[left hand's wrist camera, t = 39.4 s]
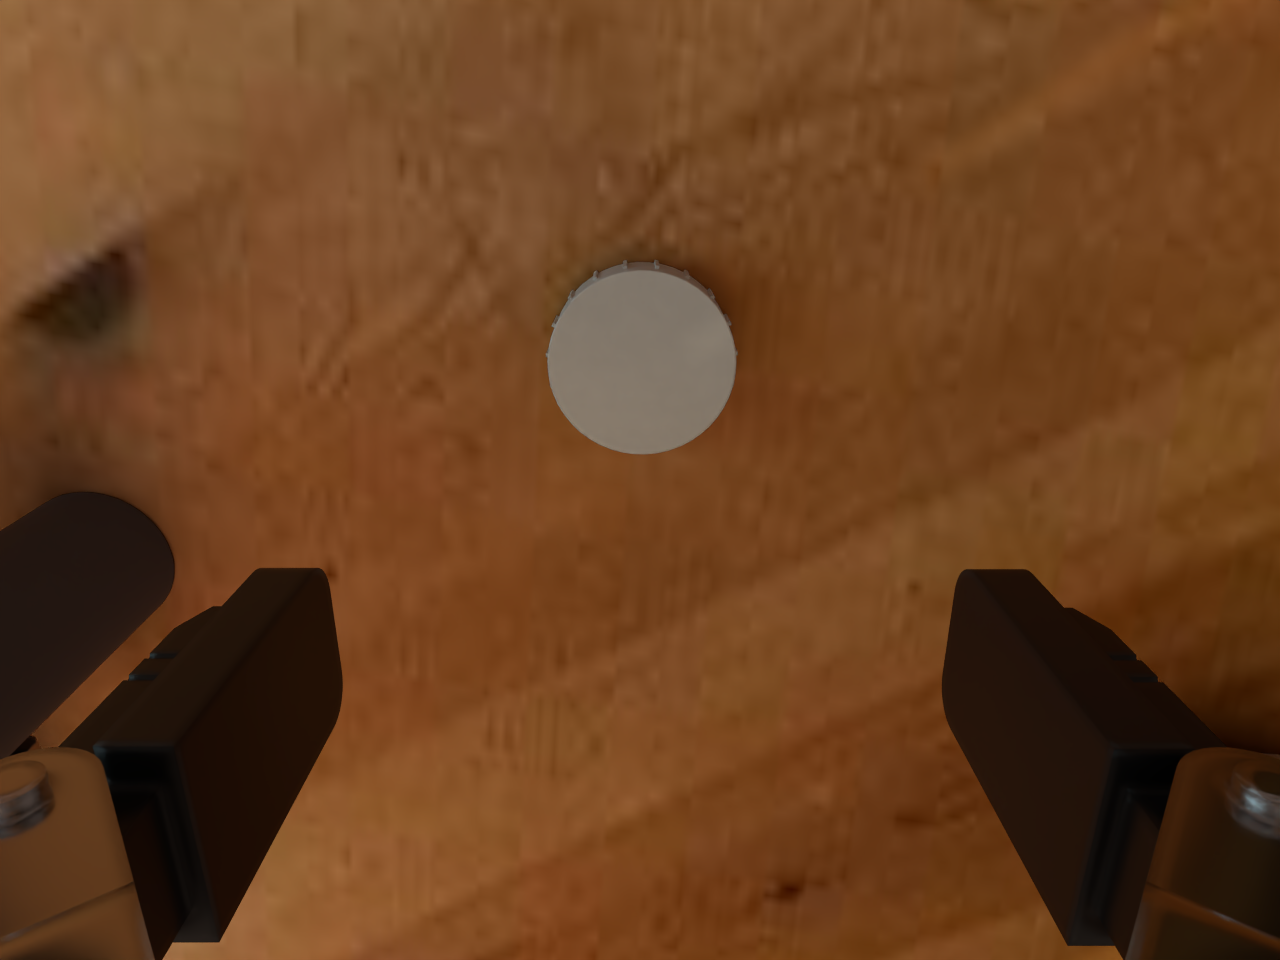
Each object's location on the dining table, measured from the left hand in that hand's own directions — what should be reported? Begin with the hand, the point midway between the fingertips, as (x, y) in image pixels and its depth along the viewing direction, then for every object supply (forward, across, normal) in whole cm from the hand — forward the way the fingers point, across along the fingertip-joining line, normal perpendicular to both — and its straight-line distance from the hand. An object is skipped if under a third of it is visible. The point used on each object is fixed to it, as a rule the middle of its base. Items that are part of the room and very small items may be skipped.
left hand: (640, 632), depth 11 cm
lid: (+13, 0, 0) cm, 13 cm away
